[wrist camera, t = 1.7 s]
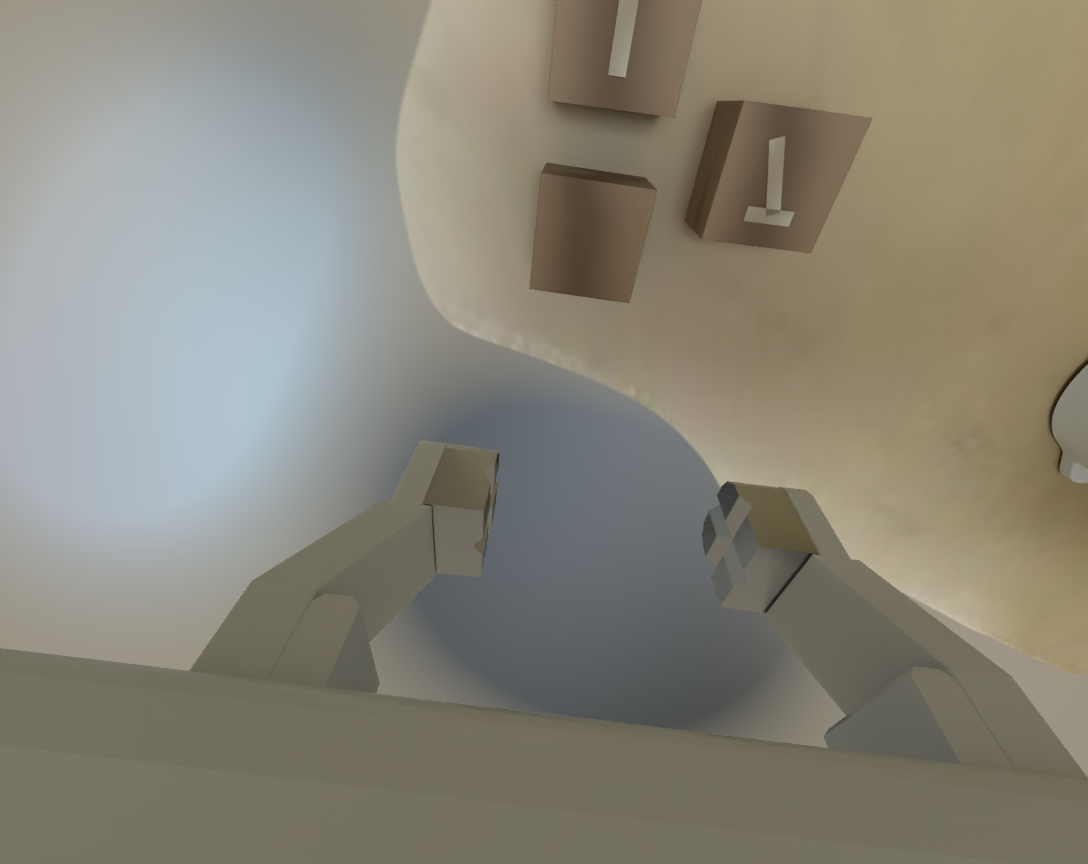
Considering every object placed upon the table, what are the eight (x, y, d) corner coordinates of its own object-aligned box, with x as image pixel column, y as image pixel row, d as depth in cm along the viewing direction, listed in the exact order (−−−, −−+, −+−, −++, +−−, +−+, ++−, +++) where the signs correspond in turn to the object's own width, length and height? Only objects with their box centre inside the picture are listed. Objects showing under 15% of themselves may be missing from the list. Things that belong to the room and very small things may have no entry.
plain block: (645, 177, 26) (656, 190, 22) (622, 276, 30) (629, 303, 26) (546, 162, 26) (541, 173, 22) (536, 264, 30) (529, 289, 26)
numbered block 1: (692, -39, 21) (719, -74, 17) (658, 115, 24) (674, 117, 20) (568, -56, 21) (565, -95, 17) (553, 101, 24) (547, 100, 20)
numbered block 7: (824, 115, 24) (874, 118, 20) (777, 231, 28) (811, 253, 24) (716, 101, 24) (745, 100, 20) (684, 219, 28) (702, 239, 23)
